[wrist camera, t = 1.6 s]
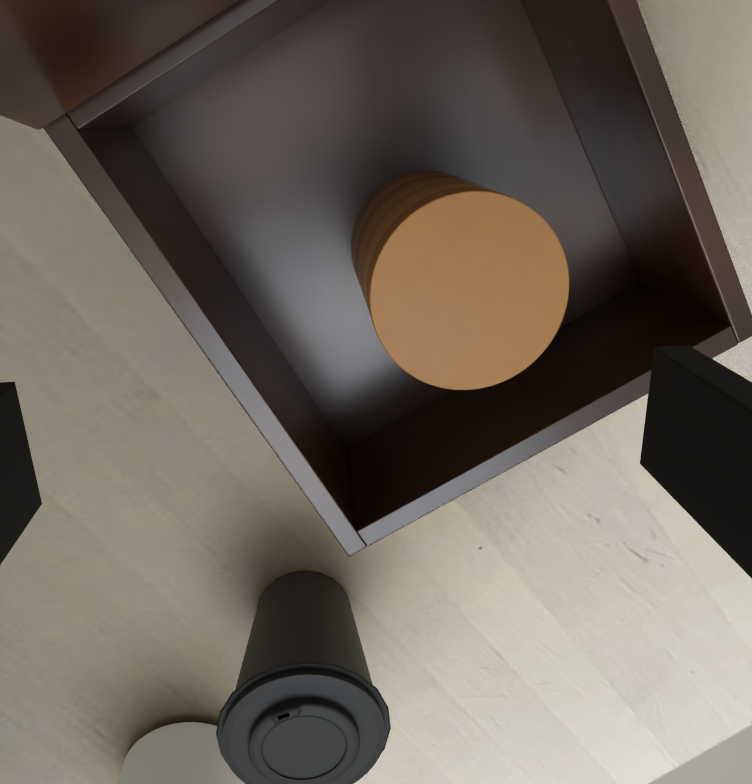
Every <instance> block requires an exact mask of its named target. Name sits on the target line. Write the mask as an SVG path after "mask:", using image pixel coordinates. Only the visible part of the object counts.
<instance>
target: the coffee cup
mask: <svg viewBox="0 0 752 784" xmlns="http://www.w3.org/2000/svg"><path fill="white" fill-rule="evenodd" d="M389 732H390V719H389V710H388V706H387V705H386V703H385V701H384V699H383V698H382V696H381V694H380V693H379V691H378V689H377V688H376V687H375V686H373V685H372V681H371V678H370V674H369V671H368V667H367V663H366V660H365V656H364V653H363V649H362V645H361V642H360V638H359V635H358V631H357V627H356V624H355V620H354V617H353V613H352V609H351V606H350V602H349V599H348V596H347V595H346V593H345V591H344V589H343V587H342V586H341V585H340V584H338V583H337V582H336V581H335V580H334V579H333V578H330V577H328V576H326V575H324V574H321V573H317V572H309V571H301V572H294V573H289V574H287V575H285V576H282V577H280V578H278V579H276V580H275V581H274V582H273V583H271V584H270V585H269V586H268V587H267V588H266V589H265V591H264V592H263V594H262V596H261V597H260V599H259V603H258V607H257V611H256V614H255V618H254V622H253V625H252V629H251V633H250V637H249V640H248V644H247V648H246V652H245V655H244V659H243V663H242V667H241V670H240V674H239V678H238V682H237V685H236V689H235V691H234V692H232V694H231V695H230V697H229V699H228V700H227V702H226V703H225V705H224V706H223V708H222V710H221V711H220V714H219V719H218V725H217V730H216V736H217V740H218V745H219V749H220V753H221V755H222V757H223V758H224V760H225V762H226V763H227V764H228V766H229V767H230V769H231V770H232V772H233V773H234V774H235V775H236V776H237V777H238V778H239V779H240V780H241V781H243V782H244V783H245V784H353V783H355V782H356V781H358V780H359V779H361V778H362V777H363V776H364V775H365V774H366V773H368V771H369V770H370V769H371V768H372V767H373V766H374V764H375V763H376V761H377V760H378V758H379V756H380V754H381V753H382V752H383V750H384V749H385V745H386V742H387V739H388V735H389Z"/></svg>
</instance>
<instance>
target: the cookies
mask: <svg viewBox="0 0 752 784" xmlns="http://www.w3.org/2000/svg"><path fill="white" fill-rule="evenodd" d="M351 254H352V262H353V267H354V270H355V273H356V276H357V279H358V282H359V285H360V287H361V290H362V293H363V296H364V299H365V302H366V305H367V308H368V311H369V314H370V316H371V319H372V322H373V325H374V328H375V331H376V334H377V336H378V338H379V340H380V342H381V344H382V346H383V347H384V349H385V350H386V352H387V353H388V354H389V356H390V357H391V358H392V359H393V360H394V361H395V362H396V364H397V365H398V366H400V367H401V368H402V369H403V370H405V371H406V372H407V373H408V374H410V375H412V376H413V377H415V378H417V379H418V380H420V381H423V382H425V383H427V384H430V385H433V386H436V387H440V388H445V389H452V390H472V389H480V388H485V387H489V386H492V385H495V384H498V383H501V382H503V381H506V380H508V379H510V378H512V377H514V376H515V375H517V374H518V373H520V372H522V371H523V370H525V369H526V368H527V367H528V366H529V365H531V364H532V363H533V362H534V361H535V360H536V359H537V358H538V357H539V356H540V355H541V354H542V353H543V352H544V351H545V349H546V348H547V347H548V345H549V344H550V343H551V341H552V340H553V338H554V336H555V335H556V333H557V331H558V329H559V327H560V324H561V322H562V320H563V317H564V314H565V310H566V307H567V301H568V295H569V272H568V265H567V261H566V256H565V253H564V251H563V248H562V245H561V243H560V241H559V239H558V237H557V236H556V234H555V232H554V231H553V229H552V228H551V227H550V225H549V224H548V223H547V221H546V220H545V219H544V218H543V217H542V216H541V215H540V214H539V213H538V212H536V211H535V210H533V209H532V208H531V207H529V206H528V205H527V204H525V203H523V202H521V201H519V200H517V199H515V198H513V197H510V196H507V195H505V194H502V193H499V192H497V191H494V190H491V189H489V188H486V187H483V186H481V185H478V184H475V183H473V182H470V181H467V180H465V179H462V178H459V177H457V176H454V175H451V174H448V173H444V172H440V171H429V170H426V171H416V172H411V173H407V174H404V175H401V176H398V177H396V178H394V179H392V180H391V181H389V182H387V183H386V184H384V185H383V186H382V187H380V188H379V189H378V190H377V191H376V192H375V193H374V194H373V195H372V196H371V197H370V198H369V200H368V201H367V202H366V203H365V205H364V207H363V208H362V210H361V212H360V214H359V216H358V218H357V220H356V223H355V226H354V230H353V235H352V243H351Z"/></svg>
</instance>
